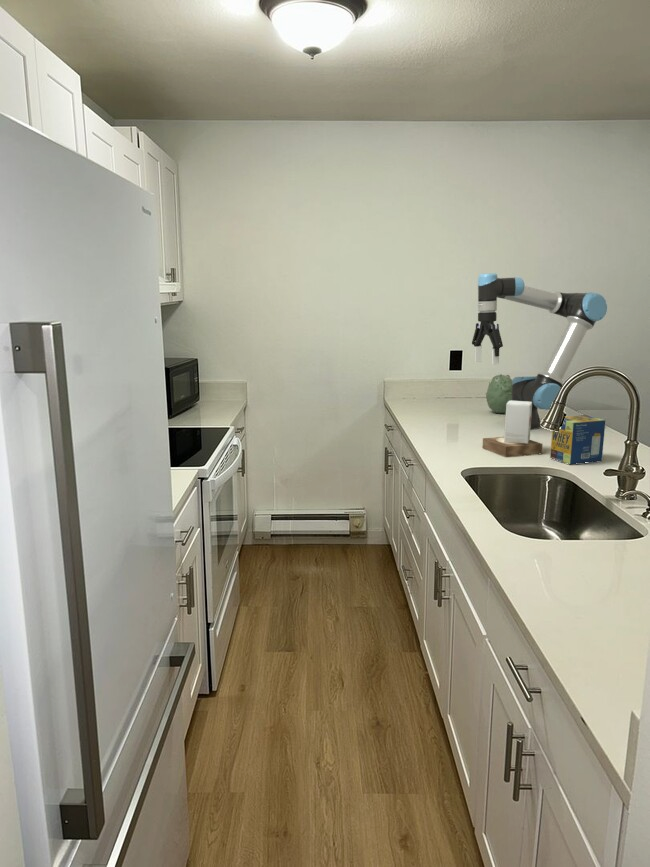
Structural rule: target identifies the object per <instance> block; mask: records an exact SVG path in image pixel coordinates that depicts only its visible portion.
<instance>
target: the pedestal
mask: <svg viewBox="0 0 650 867" xmlns="http://www.w3.org/2000/svg"><path fill="white" fill-rule="evenodd" d="M543 445H544V444H543V443H542V442H539V441H535V440H532V439H530V440H529V442H528V444H524V443H511V442H504V436H498V437H497V436H496V437H484V438H482V447H481V448H482V449H483V450H486V451H488V452H490V453H491V452H492V453H493V454H496V455H498V456H500V457H504V458H512V457H523V456H524V455H526V456H532V455H531V454H538V455H540V454H539V453H542V454H543Z"/></svg>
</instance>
